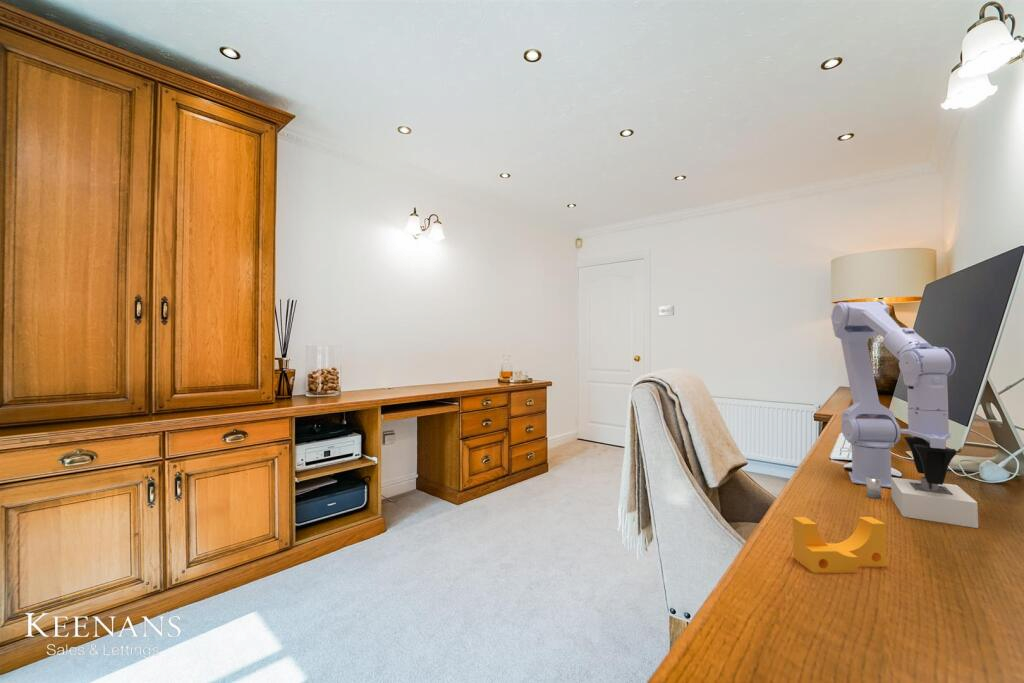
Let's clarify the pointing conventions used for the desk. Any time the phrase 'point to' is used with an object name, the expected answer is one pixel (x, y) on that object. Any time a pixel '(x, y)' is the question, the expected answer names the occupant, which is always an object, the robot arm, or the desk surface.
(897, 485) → the pin block
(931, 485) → the long pin
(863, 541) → the pipe clamp
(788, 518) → the desk surface
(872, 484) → the short pin
